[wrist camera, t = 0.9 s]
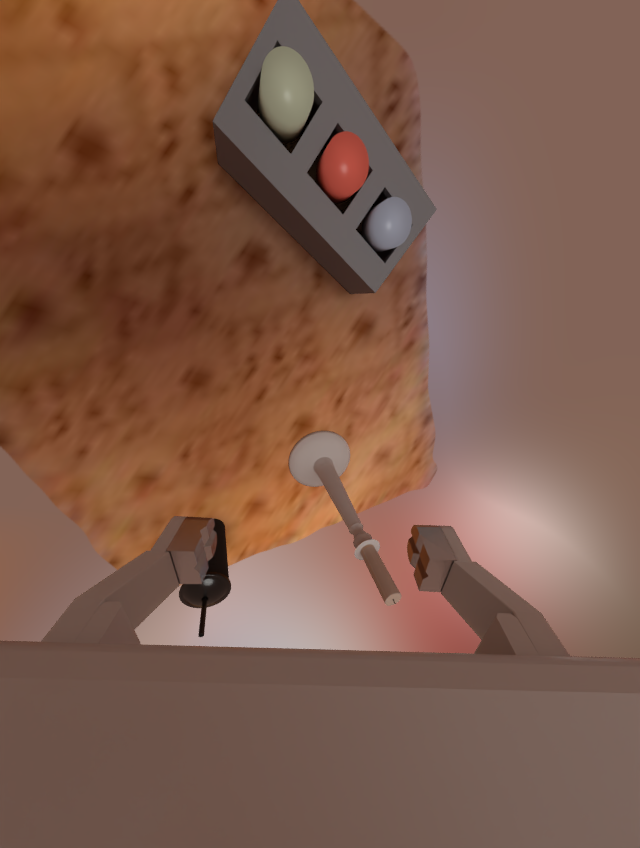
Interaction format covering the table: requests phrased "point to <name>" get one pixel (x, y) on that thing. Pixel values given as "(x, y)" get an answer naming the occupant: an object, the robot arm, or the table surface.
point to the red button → (342, 167)
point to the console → (287, 173)
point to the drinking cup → (210, 580)
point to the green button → (285, 93)
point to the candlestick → (340, 498)
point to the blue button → (387, 224)
